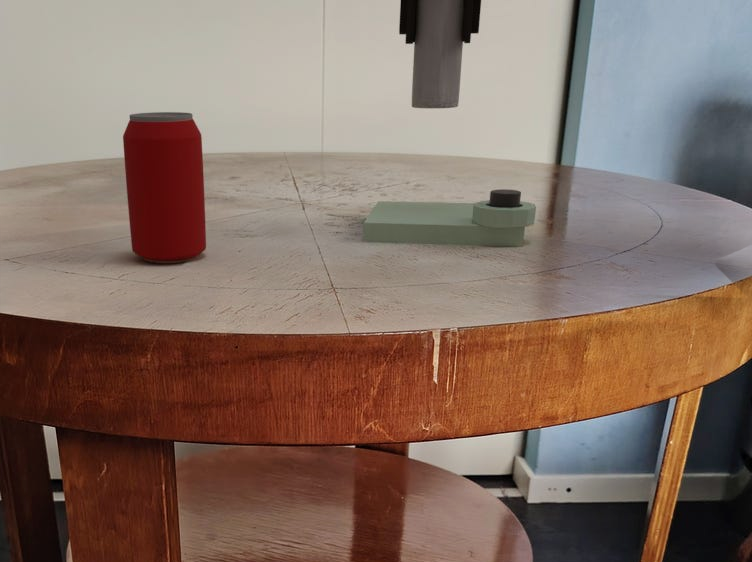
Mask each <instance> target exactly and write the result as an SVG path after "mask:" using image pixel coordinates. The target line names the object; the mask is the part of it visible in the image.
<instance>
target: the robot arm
mask: <svg viewBox="0 0 752 562" xmlns="http://www.w3.org/2000/svg"><path fill="white" fill-rule="evenodd" d="M416 2H417V0H400V5H399V6H400V7H399V25H398V27H399V29H398V34H399V35H405V45H414V41H415V21H416ZM481 8H482V0H465V11H464V25H463V38H462V42H463V44H471V39H472V34H479V32H480V23H481V22H480V21H481Z"/></svg>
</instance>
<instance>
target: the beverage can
mask: <svg viewBox="0 0 752 562" xmlns="http://www.w3.org/2000/svg"><path fill="white" fill-rule="evenodd" d="M122 143H123V156H124V157H123V158H124V171H125V172H124V173H125V183H126V196H127V197H126V198H127V208H128V218H129V219H128V220H129V231H130V240H131V241H130V242H131V250H132V252H133V253H134V254H135V255H137V256H138V257H140V258H141V259H142V260H143V261H145V260H146V261H145V262H148V261H149V262H148V263H153V262H155V263H154V264H178V263H179V264H181V263H187V262H188V261H192V260H195V259H197V257H198V256H199V255H201V254H202V253H203V252H204V251H206V249H207V230H206V228H207V227H206V205H205V203H206V202H205V181H204V180H205V179H204V178H205V177H204V159H203V156H204V155H203V138H202V133H201V131H200V129H199V127H198V125H197V123H196V121H195V120H194V117H193V113H191V112H179V111H177V112H176V111H158V112H156V111H155V112H139V113H132V114H129V121H128V122H127V125H126V128H125V130H124V132H123V135H122Z"/></svg>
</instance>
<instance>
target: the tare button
mask: <svg viewBox="0 0 752 562" xmlns="http://www.w3.org/2000/svg"><path fill="white" fill-rule="evenodd" d="M521 197H522V192H521V190H517V189H492V190H490V191H489V200H490V201H489V206H490V207H499V208H515V207H520V201H521Z"/></svg>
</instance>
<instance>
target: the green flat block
mask: <svg viewBox="0 0 752 562" xmlns="http://www.w3.org/2000/svg"><path fill="white" fill-rule="evenodd" d="M489 201H490V199H489V200H480V201H475V202H436V201H435V202H432V201H429V202H428V201H426V202H425V201H423V202H422V201H391V200H390V201H388V200H385V201H383V200H379V201H377V202H376V204H375V206H373V208H372V210H371V211H370V213H369V214H368V216H367V217H366V219H365V220H364V222H363V228H362V230H363V231H362V232H363V233H362V242H363V243H388V244H390V243H391V244H418V245H419V244H421V245H423V244H424V245H452V246H453V245H456V246H485V247H486V246H489V247H519V248H520V247H524V240H525V239H524V238H525V231H526V228H527V227H529V226H532V225H533V226H534V225H535V219H536V212H537V211H536V209H537V206H536V204H535V203H531V202H529V201H521V200H520V207H515V208H499V207H490V206H489Z"/></svg>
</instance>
